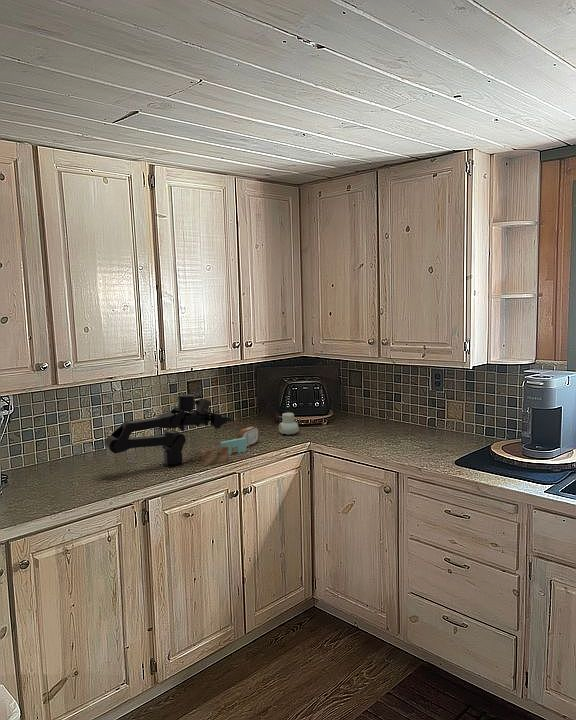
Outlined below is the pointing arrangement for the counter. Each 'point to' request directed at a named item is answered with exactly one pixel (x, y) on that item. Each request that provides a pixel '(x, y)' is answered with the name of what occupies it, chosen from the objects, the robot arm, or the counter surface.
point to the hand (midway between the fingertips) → (225, 416)
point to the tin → (249, 435)
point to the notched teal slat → (235, 445)
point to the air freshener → (288, 424)
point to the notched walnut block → (209, 459)
